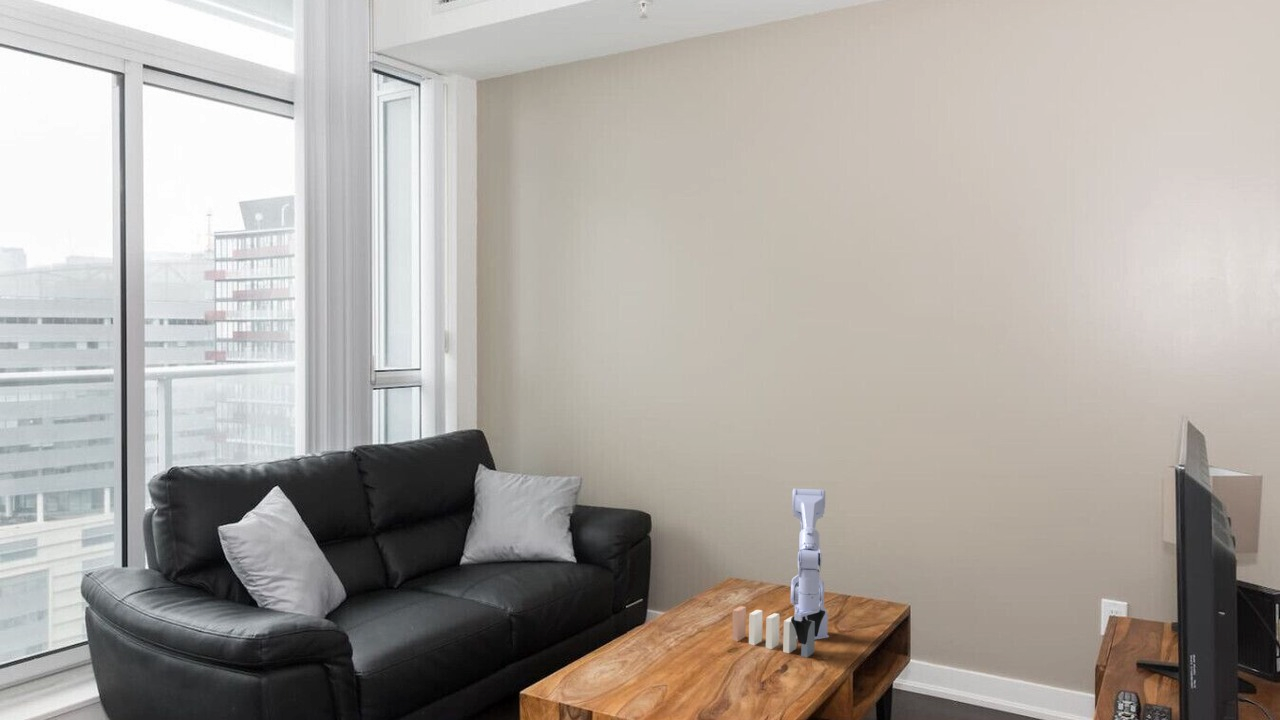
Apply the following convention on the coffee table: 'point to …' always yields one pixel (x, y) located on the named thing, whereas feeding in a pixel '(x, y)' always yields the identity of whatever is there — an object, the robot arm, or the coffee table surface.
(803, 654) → the domino
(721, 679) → the coffee table surface
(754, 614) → the domino
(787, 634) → the domino
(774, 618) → the domino
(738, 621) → the domino
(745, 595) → the coffee table surface
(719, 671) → the coffee table surface
